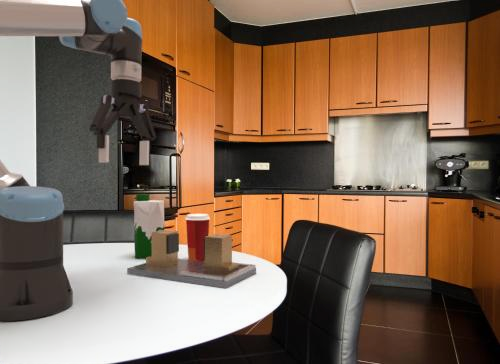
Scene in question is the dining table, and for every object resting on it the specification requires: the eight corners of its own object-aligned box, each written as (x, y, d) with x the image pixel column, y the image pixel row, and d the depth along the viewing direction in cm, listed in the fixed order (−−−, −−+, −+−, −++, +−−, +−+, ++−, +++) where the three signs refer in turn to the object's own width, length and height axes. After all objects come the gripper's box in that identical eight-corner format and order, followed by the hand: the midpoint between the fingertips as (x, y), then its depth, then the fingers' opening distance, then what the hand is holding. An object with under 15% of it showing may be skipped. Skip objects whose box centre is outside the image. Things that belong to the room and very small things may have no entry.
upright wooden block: (229, 275, 96) (229, 238, 96) (202, 272, 100) (202, 236, 100) (238, 271, 101) (238, 236, 101) (213, 268, 104) (213, 234, 104)
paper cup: (212, 257, 125) (212, 213, 125) (207, 262, 118) (207, 216, 117) (188, 257, 126) (188, 213, 126) (181, 262, 118) (181, 215, 118)
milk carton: (139, 253, 132) (139, 193, 131) (166, 253, 131) (166, 193, 131) (131, 259, 123) (131, 195, 123) (160, 259, 123) (160, 195, 122)
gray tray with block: (225, 288, 91) (225, 242, 91) (127, 273, 104) (127, 234, 104) (256, 273, 105) (256, 233, 105) (166, 262, 118) (166, 227, 118)
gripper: (96, 66, 89) (94, 160, 89) (169, 90, 111) (168, 165, 111) (74, 71, 93) (73, 161, 93) (149, 92, 115) (148, 165, 115)
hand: (125, 163), depth 102 cm, fingers open, 13 cm apart
